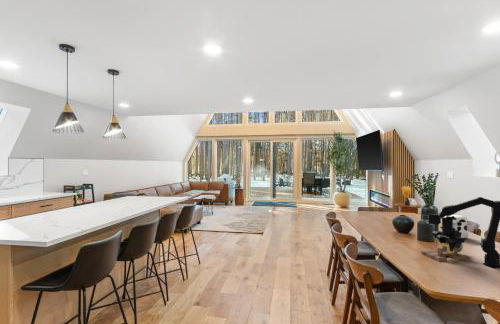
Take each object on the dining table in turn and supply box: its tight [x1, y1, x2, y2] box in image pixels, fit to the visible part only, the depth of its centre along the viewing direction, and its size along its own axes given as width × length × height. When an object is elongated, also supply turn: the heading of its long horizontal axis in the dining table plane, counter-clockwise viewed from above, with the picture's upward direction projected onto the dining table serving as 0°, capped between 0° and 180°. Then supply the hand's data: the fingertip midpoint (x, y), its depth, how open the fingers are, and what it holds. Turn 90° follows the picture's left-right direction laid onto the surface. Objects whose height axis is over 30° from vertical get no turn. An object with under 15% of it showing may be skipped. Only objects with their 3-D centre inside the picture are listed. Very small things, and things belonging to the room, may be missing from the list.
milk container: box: [445, 214, 469, 240], centre depth 220 cm, size 17×17×18 cm
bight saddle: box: [440, 243, 454, 253], centre depth 170 cm, size 5×4×5 cm
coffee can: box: [445, 236, 464, 253], centre depth 178 cm, size 10×10×14 cm
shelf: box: [420, 247, 467, 262], centre depth 173 cm, size 14×20×7 cm
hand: (447, 249), depth 170 cm, fingers closed on bight saddle, 5 cm apart
